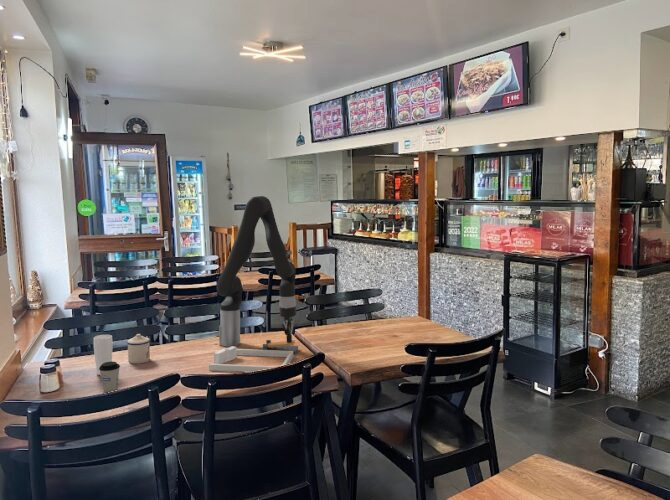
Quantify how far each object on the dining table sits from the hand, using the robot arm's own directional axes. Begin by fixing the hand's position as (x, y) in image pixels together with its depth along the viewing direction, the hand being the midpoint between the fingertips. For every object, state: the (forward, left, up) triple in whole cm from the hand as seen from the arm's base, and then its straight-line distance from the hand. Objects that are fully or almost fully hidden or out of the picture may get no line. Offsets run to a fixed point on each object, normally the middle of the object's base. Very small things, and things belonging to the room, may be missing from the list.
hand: (289, 342), depth 223 cm
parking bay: (-12, -18, -4) cm, 22 cm away
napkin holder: (-24, -16, -5) cm, 30 cm away
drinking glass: (-68, -38, -5) cm, 78 cm away
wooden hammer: (-4, 0, -2) cm, 5 cm away
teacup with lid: (-63, -20, -5) cm, 66 cm away
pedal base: (-5, 0, -4) cm, 6 cm away
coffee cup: (-56, -54, -5) cm, 77 cm away
